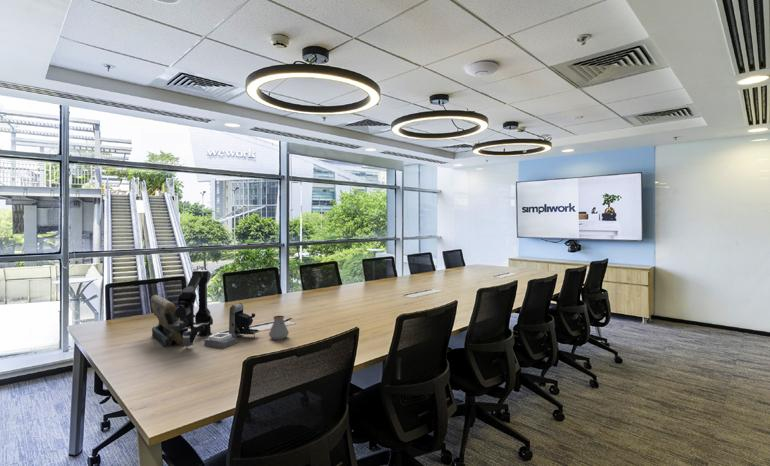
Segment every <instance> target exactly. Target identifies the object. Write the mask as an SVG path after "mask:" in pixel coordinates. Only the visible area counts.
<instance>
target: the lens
mask: <svg viewBox="0 0 770 466" xmlns="http://www.w3.org/2000/svg"><path fill="white" fill-rule="evenodd" d="M189 331H190V330H188V331H185V332H183V345H182V346H183V347H191V346H193V345H194V342H193V343H191V342H190V334H189V333H188V332H189Z"/></svg>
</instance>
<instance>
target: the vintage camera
mask: <svg viewBox="0 0 770 466" xmlns="http://www.w3.org/2000/svg"><path fill="white" fill-rule="evenodd" d="M228 313H229V317H228V318H229V319H228V334H232V337H233V338H237V337H239V336H240V335H241V336H242V335H251V336H252V335H253V338H254V339H255V338H256V336H255V334H256V333H258V332H260V331H261V330H259V329H255V328H254V329H253V328H250V326H251V325H252V324H253V322H254V319H253V318H255V317H256V313H254V312H253V313H251V315H250V314H247V313H244V304H243V303H242V302H238V303H237V304H235V305H233V304H232V305H231V306H230V307H229V312H228Z"/></svg>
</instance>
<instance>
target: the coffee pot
mask: <svg viewBox="0 0 770 466" xmlns="http://www.w3.org/2000/svg"><path fill="white" fill-rule="evenodd" d="M272 318H273V320H274V321H273V323H272V325H271V327H270V331H269V333H268V335H269V337H270V338H271V339H272V340H276V341H281V340H284V339H286V338H287V337H288V336H289V333H290V332H289V330H288V327H287V326H286V322H289V321H292V320H294V318H293V317H288V318H287V319H284V318H285V316H284V315H275V316H273V317H272Z"/></svg>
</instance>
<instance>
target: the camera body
mask: <svg viewBox="0 0 770 466" xmlns="http://www.w3.org/2000/svg"><path fill="white" fill-rule="evenodd" d="M237 339H238V338H237V337H235V338H233V337H232V334H229V333H226V332H217V333H215V334H211V335H210V336H209V335H208V338H205V339H203V345H204V346H207V347H208V346H209V347H214V348H218V349H224V348H228V347H231V346H233V345H235V344H237V343H238V342H237Z"/></svg>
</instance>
